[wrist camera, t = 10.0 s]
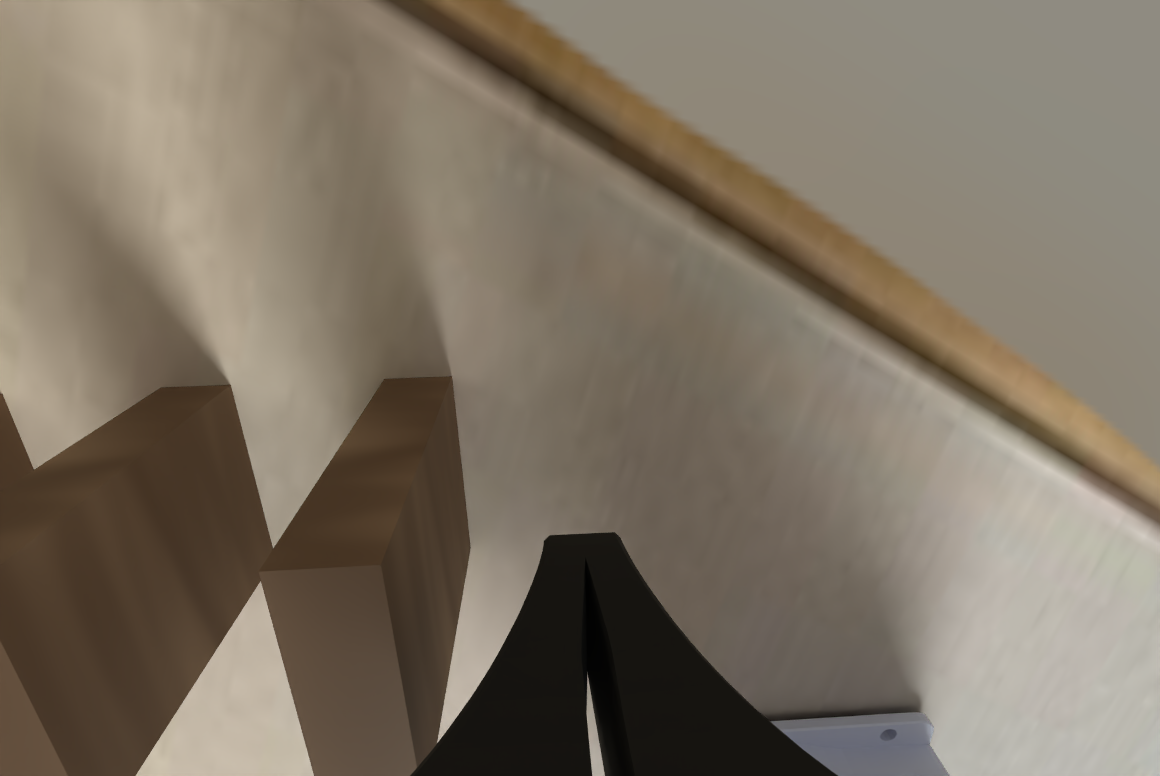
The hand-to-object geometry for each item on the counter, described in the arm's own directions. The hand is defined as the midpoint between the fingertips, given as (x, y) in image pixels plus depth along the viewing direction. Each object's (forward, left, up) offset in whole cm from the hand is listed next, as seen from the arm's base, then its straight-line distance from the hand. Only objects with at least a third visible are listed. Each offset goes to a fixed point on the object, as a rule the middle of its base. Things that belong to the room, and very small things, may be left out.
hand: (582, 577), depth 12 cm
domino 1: (+9, 0, -4) cm, 10 cm away
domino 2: (+4, 0, -4) cm, 6 cm away
